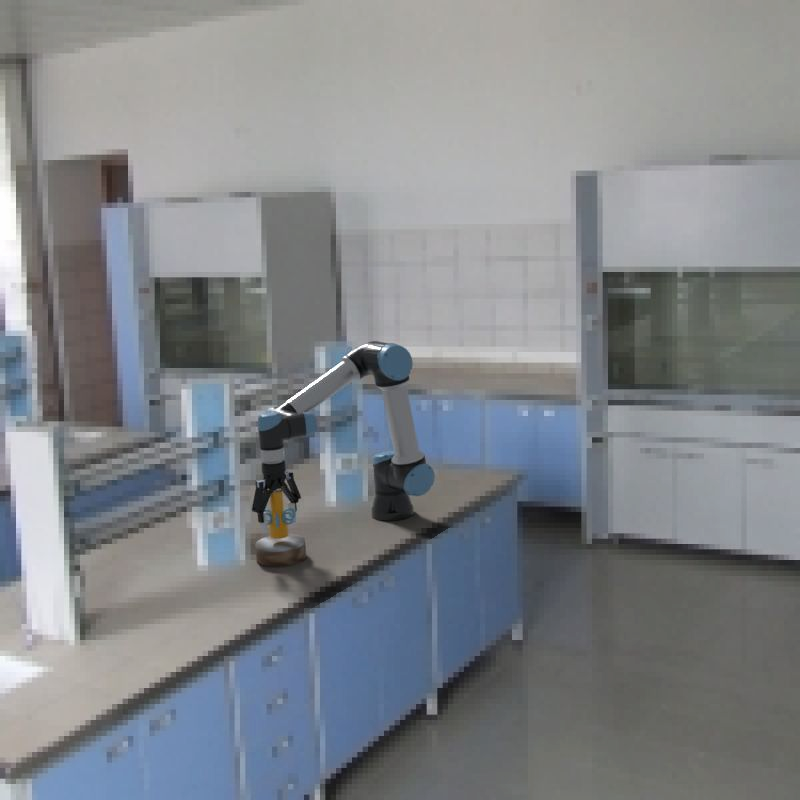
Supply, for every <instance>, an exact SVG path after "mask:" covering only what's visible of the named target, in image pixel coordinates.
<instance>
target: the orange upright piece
mask: <svg viewBox="0 0 800 800" xmlns="http://www.w3.org/2000/svg"><path fill="white" fill-rule="evenodd" d="M269 503H270V509H268V508H265V511H264V512H266V515H267V517H269V519H268V518H267V526H269V527H268V530H269V536H270V537H271V538H274V539H281V538H285V537H287V536H288V535H289V534H290V533H289V525H291V524H294V523H293V520H294V518H295V515H296V516H297V513H296V512H297V511H296V512H295V510H294V509H292V508H288V507H287V508H286V509H285V510H284V500H283V491H282V490H281V489H277V490H275V491H273V493H272V494H271V495H270V498H269ZM289 510H291V511H292V512H293V515H292V514H291V513H290V512H288V511H289ZM287 515H288V516H289V515H290V517H291V518H289V517H287ZM289 521H290V522H289Z"/></svg>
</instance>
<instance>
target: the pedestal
mask: <svg viewBox="0 0 800 800" xmlns="http://www.w3.org/2000/svg"><path fill="white" fill-rule="evenodd" d="M254 547H255V557H256V564H258V565H260V566H262V567H266V568H284V567H285V568H286V567H289V566H290V567H291V566H294V565H298V564H300V563H302V562H304V560H306V558H307V549H306V548H307V547H306V538H305V537H304V536H302V535H299V534H293V533H289V535H288V536H287V537H285V538H281V539H274V538H271V537H270V535H269V536H265V537H262V538H260V539H258V540H257V541H256V542H255V544H254Z"/></svg>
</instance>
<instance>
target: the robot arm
mask: <svg viewBox="0 0 800 800" xmlns="http://www.w3.org/2000/svg"><path fill="white" fill-rule="evenodd" d="M413 364H414V363H413V357H412V355H411V353H410V352H409V350H408V349H407V348H405V347H404V346H403V345H399V344H397V343H393V342H391V343H389V342H382V341H377V340H372V341H368V342H365V343H363V344H361V345H359V346H357V347H356V348H353V349H352V350H350V352H348V353H347V354H345V355H344V356H343V357H341V359H340V362H339V363H338V364H337V365H335V366H334V367H332V368H331V369H329V370H328V371H326V372H325V373H324V374H323V375H321V376H320V377H318V378H317V379H316V380H314V381H313V382H312V383H310V384H309V385H307V386H305V388H303V389H301V390H300V391H299V392H297V393H296V394H295V395H293V396H292V397H290V398H289V399H287V400H286V401H285V402H284V403H282V404H280V405H279V406H274V407H273V406H271V407H269V408H267V409H266V411H265V412H262V413H260V414H259V415H258V416H257V431H258V438H259V448H260V449H259V450H260V461H261V465H260V466H261V473H262V476H263V479H262V480H256V481H255V491H254V496H253V500H252V501H253V502H252V506H251V512H253V513H255V514H256V513H257V521H258V523H259V527H260V532H262V533H265V534H268V533H269V527H268V526H269V525H267V523H268V522H267V519H268V515H266V512H264V511H265V509H267V506H268V503H269V501H270V495H271V494H272V493H273V491H275V490H282V494H284V496H285V497H286V498H287V499H288V501H287V508H292V509H294V510H295V512H297V510H298V508H297V504H298V503H299V500H301V499H302V496H301V493H300V491H299V489H298V486H297V484H296V481H295V479H294V472H291V471H287V467H286V461H285V459H286V456H285V445H284V444H285V443H284V441H288V440H293V439H299V438H303V437H305V438H306V437H308V436H313V435H314V434H316V432H317V431H318V421H317V418H316V416H315V414H314V413H313V412H312V411H313V410H314V409H316V408H317V407H319V406H320V405H322V404H323V403H324V402H325V401H327V400H328V399H330V398H331V397H333V396H334V395H335V394H337V393H338V392H340V391H341V390H342V389H343V388H345V387H346V386H348V385H349V384H350V383H352V382H354V381H356V382H358V381H360V380H362V379H363V378H364V377H367V376H373V378H374V384H375V386H376V388H378V389H380V390H381V395H382V400H383V405H384V409H385V414H386V419H387V424H388V428H389V433H390V438H391V443H392V447H393V450H388V451H387V450H386V451H383V452H378V453H376V454H374V455H373V457H372V468H373V481H374V492H375V493H374V499H373V503H372V507H371V517H372V518H373V519H374V520H379V521H398V520H399V521H401V520H403V519H407V518H410V517H412V516H413V515H414V514H415V513H414V505H413V504H412V500H411V497H410V496H413V497H421V496H425V495H426V494H427V493H428V492H429V491H430V490H431V489H432V486H433V485H434V482H435V471H434V468H433V467H432V466H431V465H430V464H428V463H427V461H426V456H425V453H424V451H422V450H420V448H419V443H418V439H417V438H418V437H417V433H416V428H415V423H414V416H413V414H412V408H411V404H410V403H411V402H410V398H409V392H408V388H407V384H408V383H409V381H410V379H411V378H410V376H409V375H410V374H411V373H412V372H411V371H412V369H413ZM285 481H286V482H287V483H286V482H285ZM287 512H290V513H291V514H292V515H293V512H292V511H291V510H289V511H287ZM288 518H291V517H290V515H289V514H288ZM288 522H290V521H288ZM296 523H297V514H296V515H295V518H294V520H293V523H292V524H296Z"/></svg>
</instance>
